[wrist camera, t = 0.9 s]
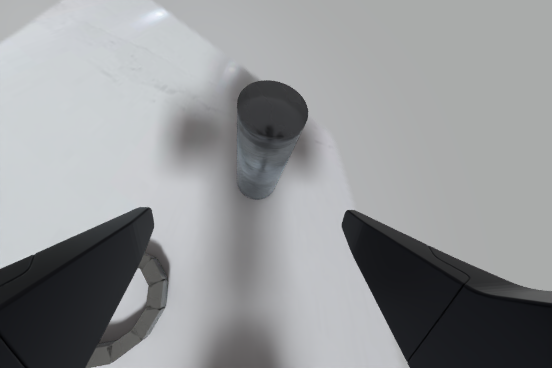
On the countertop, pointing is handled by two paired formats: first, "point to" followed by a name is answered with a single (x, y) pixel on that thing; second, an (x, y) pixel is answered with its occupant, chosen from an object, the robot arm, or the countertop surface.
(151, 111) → the countertop surface
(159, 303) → the ring
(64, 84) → the countertop surface
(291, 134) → the dark grey metallic cylinder
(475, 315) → the robot arm
